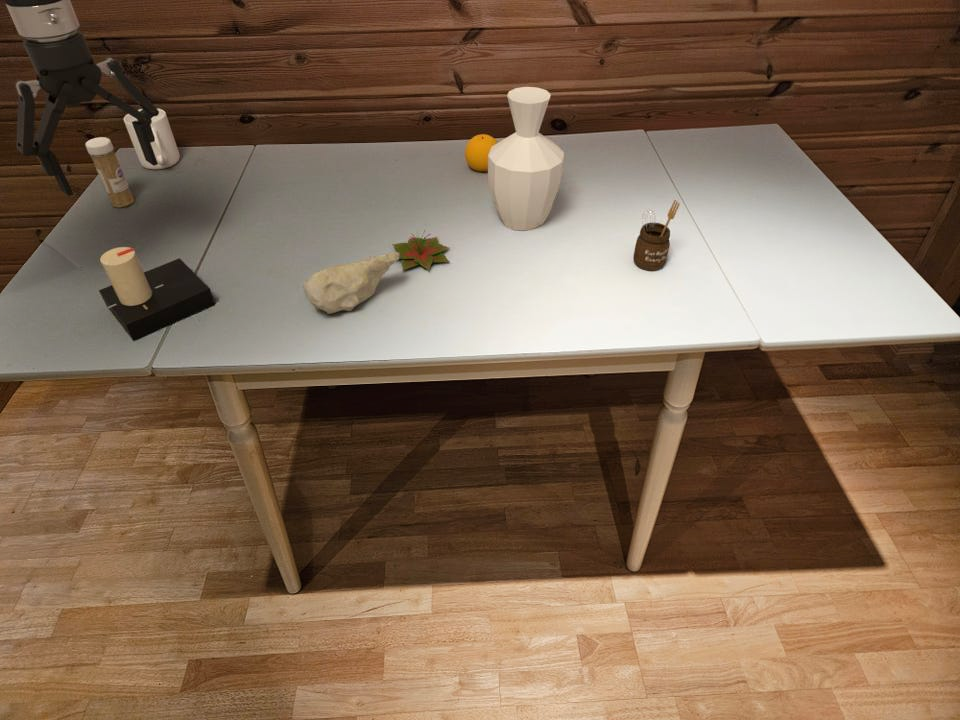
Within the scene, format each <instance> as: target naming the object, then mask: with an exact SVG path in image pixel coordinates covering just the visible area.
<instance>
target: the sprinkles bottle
mask: <svg viewBox="0 0 960 720" xmlns="http://www.w3.org/2000/svg"><path fill="white" fill-rule="evenodd" d="M84 145H85V148H86V150H87V152H88V154H89V156H90V158H91V159H92V162H93V164H94V166H95V170H96V172H97V175H98V177H99V179H100V181H101V183H102V186H103V188H104V191H105V192H106V194H107V197H108V199H109V201H110V205H111V206H112V207H114V208H118V209H119V208H126V207H129V206H130V205H132V204H133V203H134V202H135V197H134V196H133V195H132V191H131V189H130V187H129V183H128V181H127V179H126V175H125V174H124V172H123V169H122V167H121V164H120V163H119V160H118V158H117V155H116V153H115V150H114V145H113V143H112V141H111V139H110V138H108V137H106V136H105V137H104V136H99V137H94V138H91V139H89V140H88V141H86V142H85V144H84Z"/></svg>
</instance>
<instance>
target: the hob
mask: <svg viewBox="0 0 960 720" xmlns="http://www.w3.org/2000/svg"><path fill="white" fill-rule="evenodd" d="M143 272H144V274H145V277H146V279H147V281H148V284H149V286H150V288H151V290H152V296H151V297H150V299H149V300H147V301H146V302H144V303H142V304H139V305H135V306H126V305H123V304H122V303H121V302H120V300H119V298H118V296H117V294H116V292H115V290H114V288H113V286H112V284H111V285H109V286H106V287H104V288H101V289H99V290H98V292H99V294H100V296H101V298H102V300H103V302H104V304H105V306H106V308H107V309H108V310H109V312H111V314H112V315H113V316H114V318H115V320H117V322H118V323H119V324H120V326H121V327H122V328H123V329H124V331H125V332H126V333H127V335H128V336H129V337H130V339H131V340H132V341H133V342H135V341H137V340H140V339H142V338H145V337H147V336H149V335H152V334H153V333H156V332H158V331H160V330H162V329H165V328H166V327H169V326H172V325H173V324H176V323H178V322H180V321H183V320H184V319H187V318H189V317H191V316H193V315H196V314H198V313H200V312H202V311H205V310H207V309H209V308H212V307H214V306H216V302H215V299H214V297H213V294H212V291H211V288H210V287H209V286H208V285H207V284H206V283H205V282H204V281H203V280H202V279H201V278H200V277H199V276H198V275H197V274H196V273H195V272H194V271H193V270H192V268H190V266H188V265H187V264H186V263H185V261H183V260H182V259H181V258H180V257H179V258H176V259H174V260H171V261H169V262H166V263H164V264H161V265H158V266H157V267H154V268H151V269H149V270H146V271H143Z"/></svg>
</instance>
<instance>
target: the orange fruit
mask: <svg viewBox="0 0 960 720" xmlns="http://www.w3.org/2000/svg"><path fill="white" fill-rule="evenodd" d="M497 143H499V142H498V141H497V139H495V137H493V136H491V135H489V134H486V133H482V134H476V135H475V136H473V137H471V138H470V139H469V140H468V142H467V144H466V146H465V149H464V157H465V161H466V163H467V166H469V167H470V168H471V169H473V170H474V171H476V172H488V155H489V152H490V150H491V147H492V146H494V145H495V144H497Z"/></svg>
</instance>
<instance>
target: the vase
mask: <svg viewBox="0 0 960 720" xmlns="http://www.w3.org/2000/svg"><path fill="white" fill-rule="evenodd" d="M551 95H552V94H551V93H550V92H549V91H548V90H547V89H543V88H541V87H535V86H522V87H516V88H513V89H511V90H509V91H508V93H507V95H506V97H507V101H508V105H509V110H510V113H511V117H512V121H513V125H514V130H515V132H514V133H512V134H510V135H509V136H507V137H505V138H504V139H502V140H500V141H499V142H498V143H497V144H495V145H494V146H492V147H491V150H490V152H489V155H488V171H487V177H488V179H487V180H488V181H487V182H488V186H489V190H490V194H491V197H492V200H493V204H494V206H495V209H496V210H497V212H498V214H499V216H500V218H501V221H502V223H503V224H504V226H505V227H506V228H508V229H511V230H513V231H522V232H523V231H524V232H525V231H529V230H534V229H536V228H538V227H541V226H542V225H544V223H545V221H546V220H547V218H548V217H549V215H550V213H551V211H552V209H553V205H554V201H555V199H556V196H557V193H558V191H559V188H560V185H561V181H562V176H563V170H564V160H565V151H563V150H562V148H560V147H559V146H558V145H557V144H556V143H555V142H553V141H552V140H551V139H549V138H548V137H546V136H545V135H543V134H542V133H540V129H541V126H542V123H543V121H544V116H545V114H546V111H547V108H548V105H549V102H550V99H551Z"/></svg>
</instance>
